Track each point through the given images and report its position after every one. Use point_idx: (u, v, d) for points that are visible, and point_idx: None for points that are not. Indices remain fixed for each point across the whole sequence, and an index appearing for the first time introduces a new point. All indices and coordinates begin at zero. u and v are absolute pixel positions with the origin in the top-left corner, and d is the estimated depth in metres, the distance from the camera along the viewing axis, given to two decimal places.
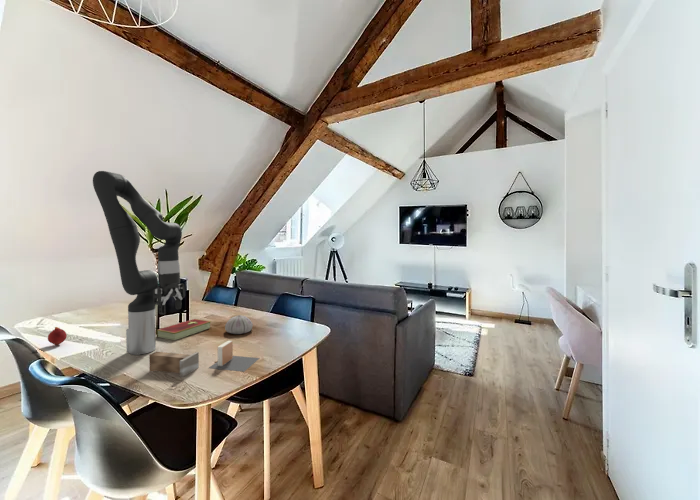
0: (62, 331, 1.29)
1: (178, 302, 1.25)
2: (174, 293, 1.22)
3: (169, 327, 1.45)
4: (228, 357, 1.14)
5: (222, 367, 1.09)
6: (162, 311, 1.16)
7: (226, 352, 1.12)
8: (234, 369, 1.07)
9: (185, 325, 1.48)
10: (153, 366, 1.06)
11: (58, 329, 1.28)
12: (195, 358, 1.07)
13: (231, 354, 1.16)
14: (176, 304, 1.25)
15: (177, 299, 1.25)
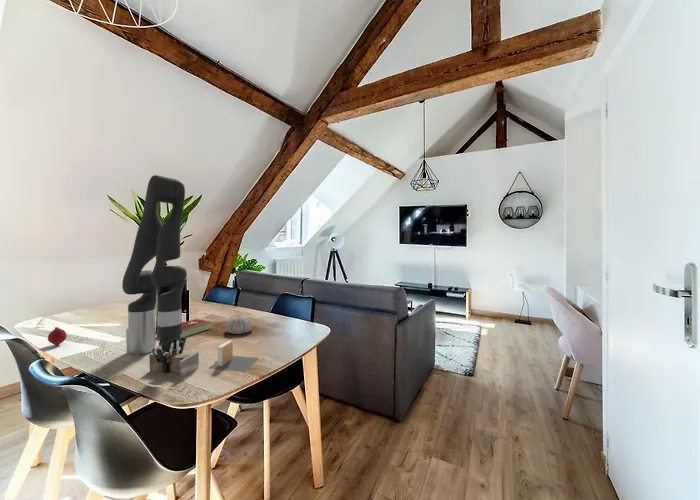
0: (62, 331, 1.29)
1: None
2: (173, 346, 1.06)
3: None
4: (228, 357, 1.14)
5: (222, 367, 1.09)
6: (166, 370, 1.04)
7: (226, 352, 1.12)
8: (234, 369, 1.07)
9: (185, 325, 1.48)
10: (153, 366, 1.06)
11: (58, 329, 1.28)
12: (195, 358, 1.07)
13: (231, 354, 1.16)
14: None
15: None
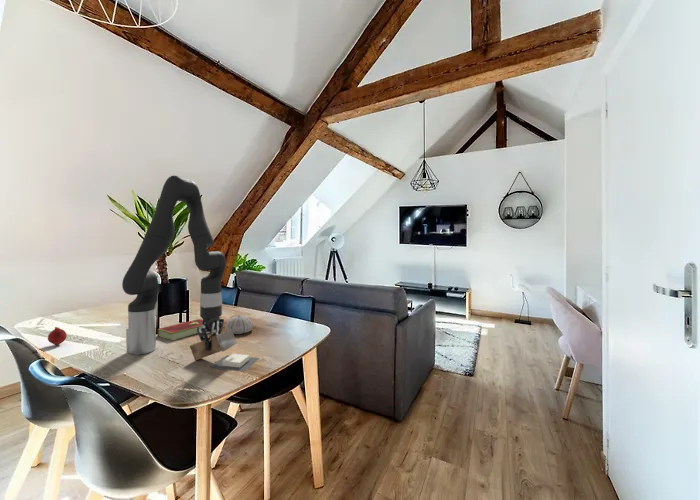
0: (62, 331, 1.29)
1: None
2: (214, 326, 1.14)
3: (170, 327, 1.46)
4: None
5: (222, 367, 1.09)
6: (209, 347, 1.12)
7: None
8: (234, 369, 1.07)
9: (186, 325, 1.48)
10: (196, 354, 1.14)
11: (58, 329, 1.28)
12: (230, 333, 1.16)
13: None
14: None
15: None
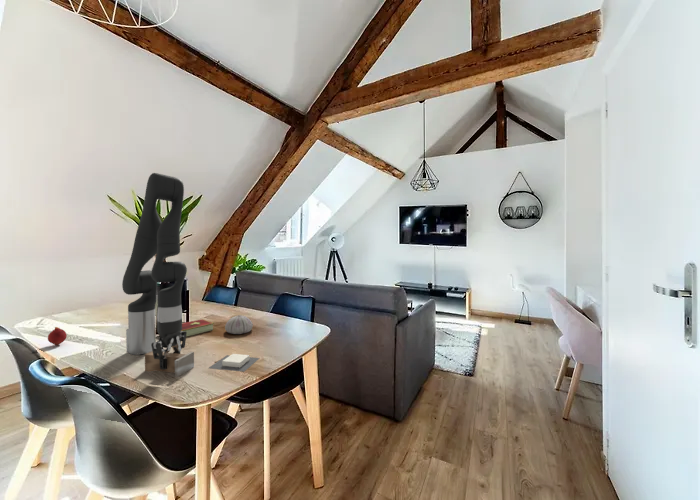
0: (62, 331, 1.29)
1: None
2: (174, 342, 1.06)
3: None
4: None
5: (222, 367, 1.09)
6: (163, 366, 1.02)
7: None
8: (234, 369, 1.07)
9: (187, 325, 1.48)
10: (149, 365, 1.06)
11: (58, 329, 1.28)
12: (191, 357, 1.08)
13: None
14: None
15: (175, 350, 1.09)
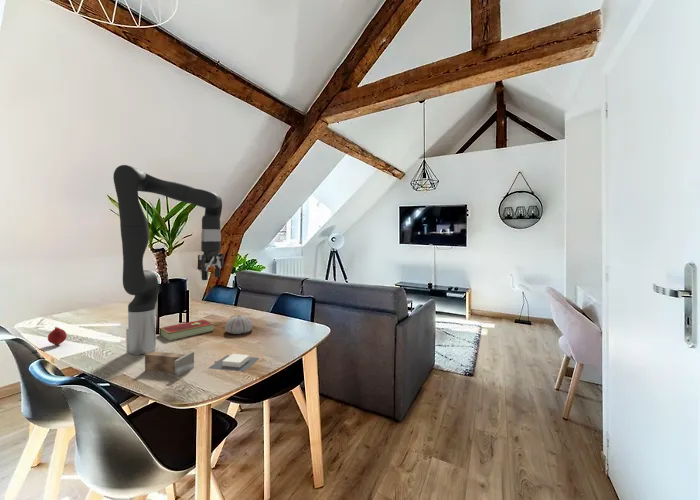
0: (62, 331, 1.29)
1: (217, 270, 1.30)
2: (215, 261, 1.27)
3: (172, 326, 1.46)
4: None
5: (222, 367, 1.09)
6: (205, 277, 1.21)
7: None
8: (234, 369, 1.07)
9: (187, 325, 1.48)
10: (149, 365, 1.06)
11: (58, 329, 1.28)
12: (191, 357, 1.08)
13: None
14: (215, 272, 1.30)
15: (216, 267, 1.30)
